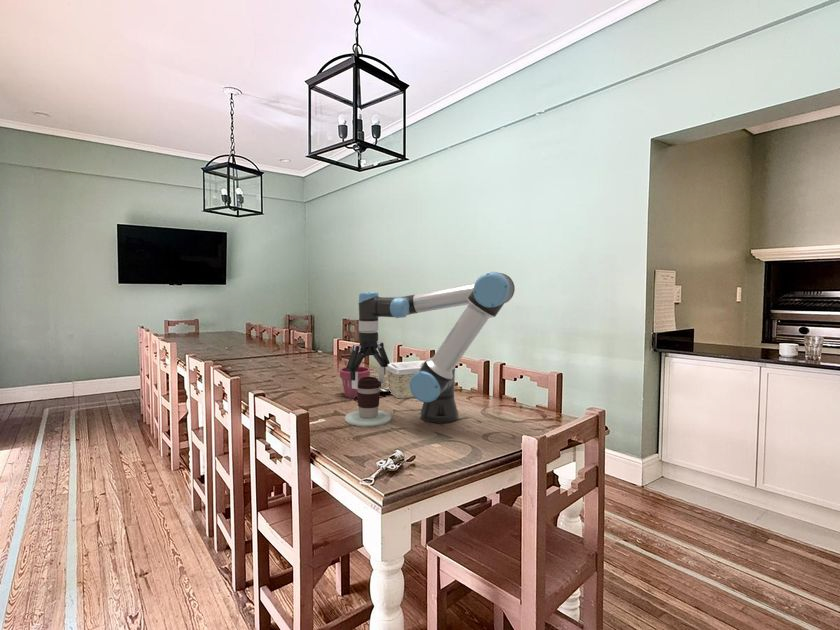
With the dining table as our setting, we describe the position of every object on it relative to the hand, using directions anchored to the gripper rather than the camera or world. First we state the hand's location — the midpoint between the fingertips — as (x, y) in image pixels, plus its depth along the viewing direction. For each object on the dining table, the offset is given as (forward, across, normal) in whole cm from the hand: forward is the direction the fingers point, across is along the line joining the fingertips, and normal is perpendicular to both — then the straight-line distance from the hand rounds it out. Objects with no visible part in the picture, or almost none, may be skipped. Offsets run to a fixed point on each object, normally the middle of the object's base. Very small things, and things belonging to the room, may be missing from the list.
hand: (368, 385), depth 174 cm
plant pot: (+14, -19, -32) cm, 40 cm away
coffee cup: (+12, 0, 0) cm, 12 cm away
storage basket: (+14, -42, -15) cm, 46 cm away
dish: (+13, 0, 0) cm, 13 cm away
